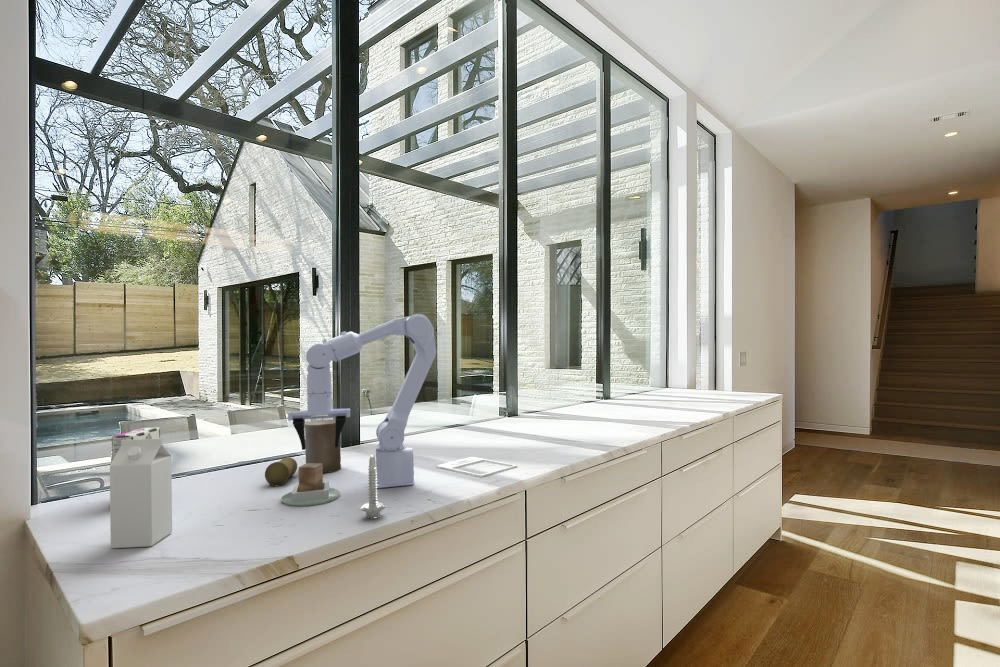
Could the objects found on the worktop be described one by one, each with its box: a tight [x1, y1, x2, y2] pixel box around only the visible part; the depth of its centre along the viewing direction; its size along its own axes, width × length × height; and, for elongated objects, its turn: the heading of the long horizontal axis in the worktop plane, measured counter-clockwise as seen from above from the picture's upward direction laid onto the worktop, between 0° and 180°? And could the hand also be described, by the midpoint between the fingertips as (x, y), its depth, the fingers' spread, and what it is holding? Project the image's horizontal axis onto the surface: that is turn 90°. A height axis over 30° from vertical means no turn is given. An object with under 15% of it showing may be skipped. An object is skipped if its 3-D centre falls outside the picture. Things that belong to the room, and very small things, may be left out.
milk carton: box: [109, 438, 173, 549], centre depth 100 cm, size 7×7×19 cm
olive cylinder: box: [264, 456, 298, 487], centre depth 142 cm, size 6×6×11 cm
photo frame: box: [436, 456, 518, 478], centre depth 153 cm, size 15×1×18 cm
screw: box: [360, 454, 386, 519], centre depth 111 cm, size 13×5×5 cm
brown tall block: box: [298, 462, 324, 492], centre depth 126 cm, size 4×4×7 cm
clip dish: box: [280, 481, 341, 507], centre depth 126 cm, size 13×13×2 cm
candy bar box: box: [111, 426, 161, 462], centre depth 126 cm, size 11×5×16 cm, turn 4°
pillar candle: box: [304, 418, 342, 474], centre depth 153 cm, size 10×10×15 cm
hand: (320, 447), depth 132 cm, fingers open, 7 cm apart
